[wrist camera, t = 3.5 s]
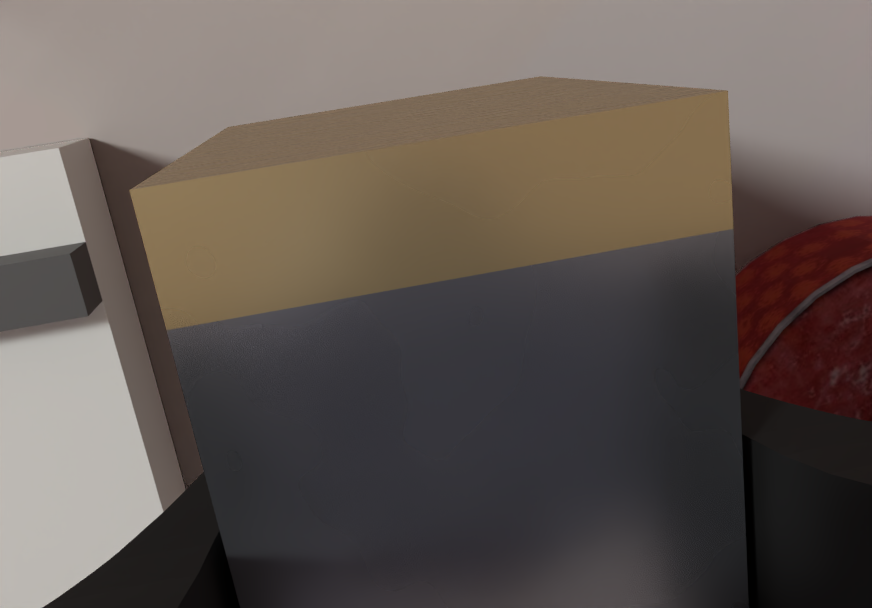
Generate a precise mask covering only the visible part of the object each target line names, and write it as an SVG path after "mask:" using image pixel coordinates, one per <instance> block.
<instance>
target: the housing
mask: <svg viewBox="0 0 872 608" xmlns="http://www.w3.org/2000/svg"><path fill="white" fill-rule="evenodd" d="M129 191H130V195H131V198H132V202H133V206H134V210H135V213H136V217H137V221H138V225H139V229H140V232H141V236H142V240H143V244H144V247H145V251H146V255H147V259H148V262H149V266H150V270H151V274H152V278H153V281H154V285H155V289H156V293H157V296H158V300H159V304H160V308H161V311H162V315H163V319H164V323H165V327H166V330H167V334H168V338H169V342H170V345H171V349H172V353H173V357H174V361H175V364H176V368H177V372H178V376H179V379H180V383H181V387H182V391H183V394H184V398H185V402H186V406H187V410H188V413H189V417H190V421H191V425H192V428H193V432H194V436H195V440H196V443H197V447H198V451H199V455H200V459H201V462H202V466H203V470H204V474H205V477H206V481H207V485H208V489H209V492H210V496H211V500H212V504H213V508H214V511H215V515H216V519H217V523H218V526H219V530H220V534H221V538H222V541H223V545H224V549H225V553H226V557H227V560H228V564H229V568H230V572H231V575H232V579H233V583H234V587H235V590H236V594H237V598H238V602H239V606H240V608H749V598H748V574H747V549H746V525H745V500H744V476H743V451H742V427H741V402H740V378H739V353H738V329H737V304H736V280H735V255H734V231H733V207H732V182H731V158H730V133H729V109H728V91H726V90H712V89H699V88H686V87H673V86H660V85H647V84H633V83H620V82H607V81H594V80H581V79H568V78H554V77H541V76H540V77H534V78H528V79H522V80H516V81H510V82H503V83H497V84H491V85H485V86H479V87H473V88H466V89H460V90H454V91H448V92H442V93H436V94H429V95H423V96H417V97H411V98H405V99H399V100H392V101H386V102H380V103H374V104H368V105H361V106H355V107H349V108H343V109H337V110H331V111H324V112H318V113H312V114H306V115H300V116H294V117H287V118H281V119H275V120H269V121H263V122H257V123H250V124H244V125H238V126H232V127H227V128H226V129H224V130H223V131H221V132H220V133H218V134H217V135H215V136H213V137H212V138H210V139H209V140H207V141H206V142H204V143H202V144H201V145H199V146H198V147H196V148H195V149H193V150H191V151H190V152H188V153H187V154H185V155H184V156H182V157H180V158H179V159H177V160H176V161H174V162H173V163H171V164H169V165H168V166H166V167H165V168H163V169H162V170H160V171H159V172H157V173H155V174H154V175H152V176H151V177H149V178H148V179H146V180H144V181H143V182H141V183H140V184H138V185H137V186H135V187H133V188H132V189H130V190H129Z"/></svg>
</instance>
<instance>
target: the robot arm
mask: <svg viewBox="0 0 872 608" xmlns="http://www.w3.org/2000/svg"><path fill="white" fill-rule="evenodd" d="M740 402H741V427H742V451H743V476H744V500H745V525H746V549H747V574H748V598H749V608H872V421H866V420H860V419H855V418H850V417H845V416H841V415H836V414H831V413H827V412H823V411H819V410H815V409H811V408H807V407H803V406H799V405H795V404H791V403H787V402H784V401H780V400H777V399H773V398H769V397H766V396H763V395H759V394H756V393H752V392H749V391H746V390H742V389H740ZM42 608H240V606H239V602H238V598H237V594H236V590H235V587H234V583H233V579H232V575H231V572H230V568H229V564H228V560H227V557H226V553H225V549H224V545H223V541H222V538H221V534H220V530H219V526H218V523H217V519H216V515H215V511H214V508H213V504H212V500H211V496H210V492H209V489H208V485H207V481H206V477H205V474H204V472H203V473H202V474H201V475H200V476H199V477H198V478H197V479H196V480H195V481H194V482H193V483H192V484H191V485H190V486H189V487H188V488H187V489H186V490H185V491H184V492H183V493H182V494H181V495H180V496H179V497H178V498H177V499H176V500H175V501H174V502H173V503H172V504H171V505H170V506H169V507H168V508H167V509H166V510H165V511H164V512H163V513H162V514H161V515H160V516H158V517H157V518H156V519H155V520H154V521H153V522H152V523H151V524H149V525H148V526H147V527H146V528H145V529H144V530H143V531H142V532H140V533H139V534H138V535H137V536H136V537H135V538H134V539H133V540H131V541H130V542H129V543H128V544H127V545H126V546H125V547H124V548H122V549H121V550H120V551H119V552H118V553H117V554H115V555H114V556H113V557H112V558H110V559H109V560H108V561H107V562H105V563H104V564H103V565H102V566H100V567H99V568H98V569H96V570H95V571H94V572H93V573H91V574H90V575H88V576H87V577H86V578H84V579H83V580H81V581H80V582H79V583H77V584H76V585H75V586H73V587H72V588H70V589H69V590H68V591H66V592H65V593H63V594H62V595H61V596H59V597H58V598H56V599H55V600H53V601H52V602H50V603H49V604H47V605H45V606H44V607H42Z"/></svg>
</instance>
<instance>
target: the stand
mask: <svg viewBox="0 0 872 608" xmlns="http://www.w3.org/2000/svg"><path fill="white" fill-rule="evenodd" d="M185 490H186V489H185V485H184V481H183V478H182V474H181V471H180V467H179V463H178V460H177V456H176V452H175V449H174V445H173V441H172V438H171V434H170V431H169V427H168V423H167V420H166V416H165V412H164V409H163V405H162V402H161V398H160V394H159V391H158V387H157V383H156V380H155V376H154V372H153V369H152V365H151V362H150V358H149V354H148V351H147V347H146V343H145V340H144V336H143V333H142V329H141V325H140V322H139V318H138V314H137V311H136V307H135V303H134V300H133V296H132V293H131V289H130V285H129V282H128V278H127V274H126V271H125V267H124V264H123V260H122V256H121V253H120V249H119V245H118V242H117V238H116V234H115V231H114V227H113V224H112V220H111V216H110V213H109V209H108V205H107V202H106V198H105V195H104V191H103V187H102V184H101V180H100V176H99V173H98V169H97V165H96V162H95V158H94V155H93V151H92V147H91V144H90V140H89V138H85V139H79V140H73V141H66V142H60V143H54V144H48V145H41V146H35V147H29V148H23V149H16V150H10V151H4V152H0V608H42V607H44V606H45V605H47V604H49V603H50V602H52V601H53V600H55V599H56V598H58V597H59V596H61V595H62V594H63V593H65V592H66V591H68V590H69V589H70V588H72V587H73V586H75V585H76V584H77V583H79V582H80V581H81V580H83V579H84V578H86V577H87V576H88V575H90V574H91V573H93V572H94V571H95V570H96V569H98V568H99V567H100V566H102V565H103V564H104V563H105V562H107V561H108V560H109V559H110V558H112V557H113V556H114V555H115V554H117V553H118V552H119V551H120V550H121V549H122V548H124V547H125V546H126V545H127V544H128V543H129V542H130V541H131V540H133V539H134V538H135V537H136V536H137V535H138V534H139V533H140V532H142V531H143V530H144V529H145V528H146V527H147V526H148V525H149V524H151V523H152V522H153V521H154V520H155V519H156V518H157V517H158V516H160V515H161V514H162V513H163V512H164V511H165V510H166V509H167V508H168V507H169V506H170V505H171V504H172V503H173V502H174V501H175V500H176V499H177V498H178V497H179V496H180V495H181V494H182V493H183V492H184V491H185Z"/></svg>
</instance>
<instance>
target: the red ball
mask: <svg viewBox="0 0 872 608" xmlns="http://www.w3.org/2000/svg"><path fill="white" fill-rule="evenodd" d="M735 280H736V304H737V329H738V353H739V378H740V389H742V390H746V391H749V392H752V393H756V394H759V395H763V396H766V397H769V398H773V399H777V400H780V401H784V402H787V403H791V404H795V405H799V406H803V407H807V408H811V409H815V410H819V411H823V412H827V413H831V414H836V415H841V416H845V417H850V418H855V419H860V420H866V421H872V216H855V217H850V218H846V219H841V220H837V221H832V222H828V223H823V224H819V225H817V226H814V227H812V228H810V229H807V230H805V231H803V232H800V233H798V234H796V235H793V236H791V237H788V238H786V239H784V240H782V241H780V242H779V243H777V244H776V245H774V246H773V247H771V248H770V249H768V250H767V251H765V252H764V253H762V254H761V255H759V256H757V257H756V258H754V259H753V260H751V261H750V262H748V263H747V264H746V265H745V266H744V267H743V268H742V269H741V270H740V271H739V272H738V273H737V274H736V275H735Z"/></svg>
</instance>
